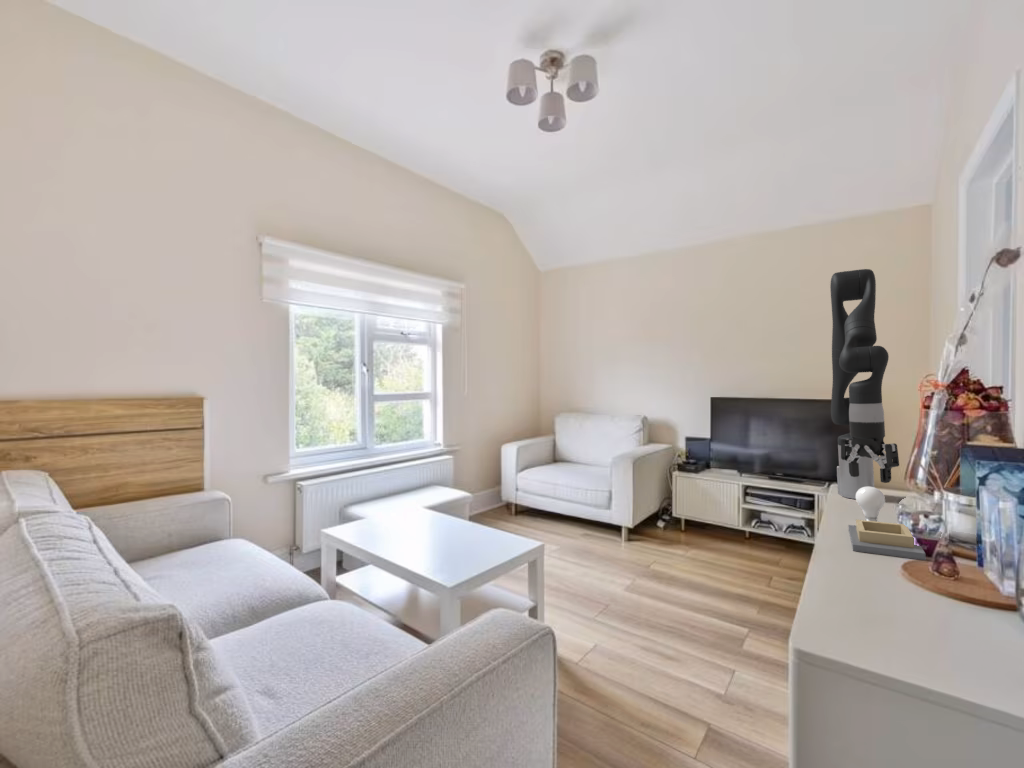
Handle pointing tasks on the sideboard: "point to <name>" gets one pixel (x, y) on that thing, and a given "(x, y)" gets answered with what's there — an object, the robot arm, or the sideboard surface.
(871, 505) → the lightbulb
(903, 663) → the sideboard surface
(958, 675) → the sideboard surface
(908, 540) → the bulb socket
